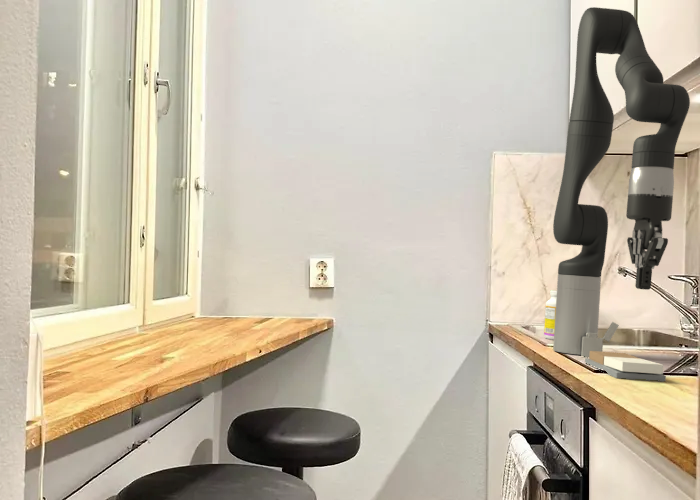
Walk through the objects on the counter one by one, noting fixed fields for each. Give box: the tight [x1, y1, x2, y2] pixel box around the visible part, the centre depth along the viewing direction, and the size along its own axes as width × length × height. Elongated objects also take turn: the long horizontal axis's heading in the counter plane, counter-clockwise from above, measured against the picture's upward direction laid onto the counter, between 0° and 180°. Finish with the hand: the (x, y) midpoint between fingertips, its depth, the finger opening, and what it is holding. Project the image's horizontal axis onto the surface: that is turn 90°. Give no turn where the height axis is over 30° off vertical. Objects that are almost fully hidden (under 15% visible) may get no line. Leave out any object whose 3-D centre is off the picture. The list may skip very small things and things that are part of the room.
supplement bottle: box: [543, 289, 557, 341], centre depth 182 cm, size 7×7×13 cm
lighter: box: [580, 321, 620, 358], centre depth 147 cm, size 7×2×8 cm, turn 74°
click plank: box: [604, 356, 664, 375], centre depth 124 cm, size 9×7×2 cm
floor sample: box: [584, 351, 667, 382], centre depth 128 cm, size 17×8×3 cm, turn 179°
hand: (642, 289), depth 125 cm, fingers closed
